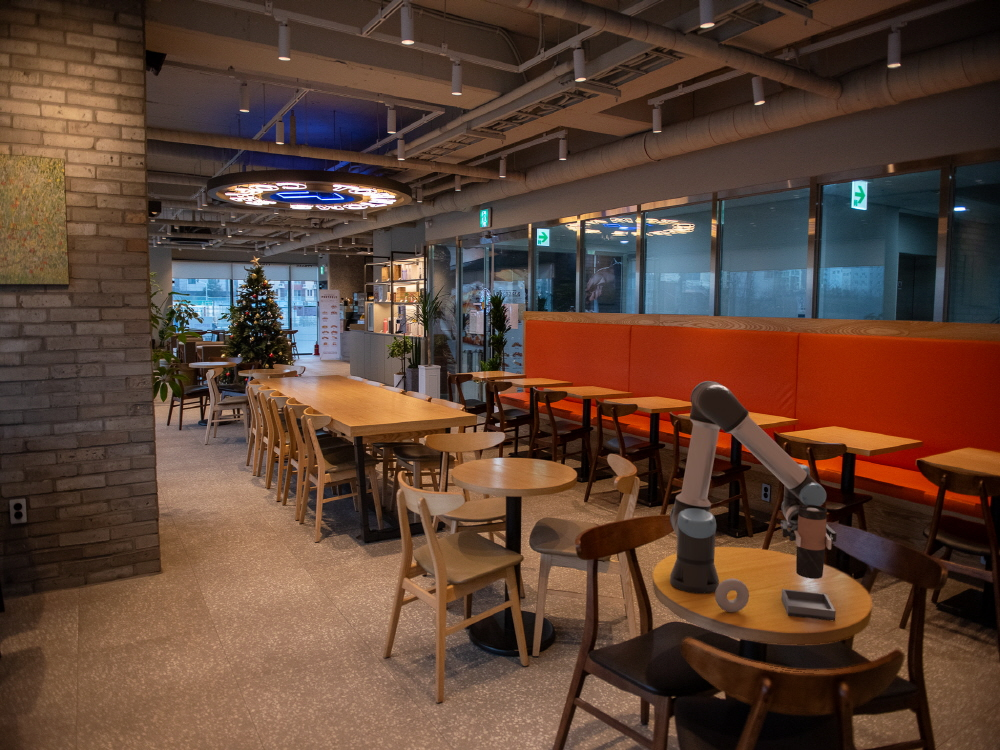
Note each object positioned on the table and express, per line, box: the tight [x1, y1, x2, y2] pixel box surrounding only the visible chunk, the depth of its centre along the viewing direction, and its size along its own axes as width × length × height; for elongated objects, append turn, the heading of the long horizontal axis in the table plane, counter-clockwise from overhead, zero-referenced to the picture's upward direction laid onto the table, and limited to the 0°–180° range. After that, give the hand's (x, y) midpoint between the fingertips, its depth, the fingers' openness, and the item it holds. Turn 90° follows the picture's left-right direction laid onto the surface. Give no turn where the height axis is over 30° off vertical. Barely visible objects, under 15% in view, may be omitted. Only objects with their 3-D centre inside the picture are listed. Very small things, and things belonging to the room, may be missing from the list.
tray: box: [780, 588, 837, 622], centre depth 203 cm, size 13×13×3 cm
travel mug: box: [795, 505, 828, 580], centre depth 201 cm, size 8×8×20 cm
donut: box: [714, 578, 750, 613], centre depth 201 cm, size 10×4×10 cm, turn 93°
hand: (814, 543), depth 197 cm, fingers closed on travel mug, 7 cm apart
